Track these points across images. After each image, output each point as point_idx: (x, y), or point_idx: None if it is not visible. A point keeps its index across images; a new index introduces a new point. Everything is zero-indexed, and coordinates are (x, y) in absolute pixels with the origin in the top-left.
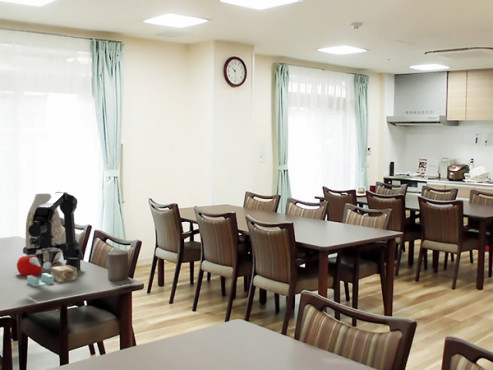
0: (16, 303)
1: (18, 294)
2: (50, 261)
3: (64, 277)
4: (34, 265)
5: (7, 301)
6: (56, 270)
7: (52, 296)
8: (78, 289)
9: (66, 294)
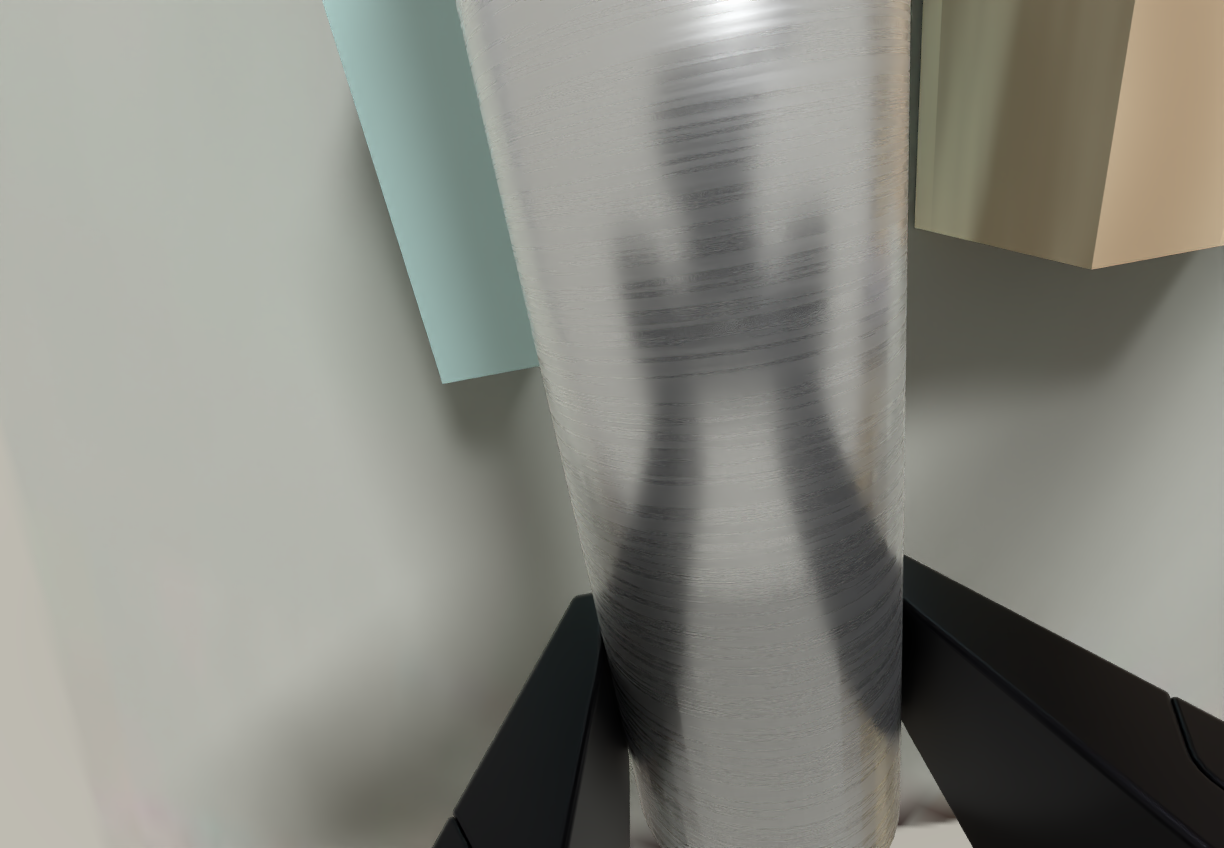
0: (219, 814)
1: (222, 533)
2: (950, 777)
3: None
4: None
5: (110, 732)
6: (1108, 93)
7: None
8: None
9: None
